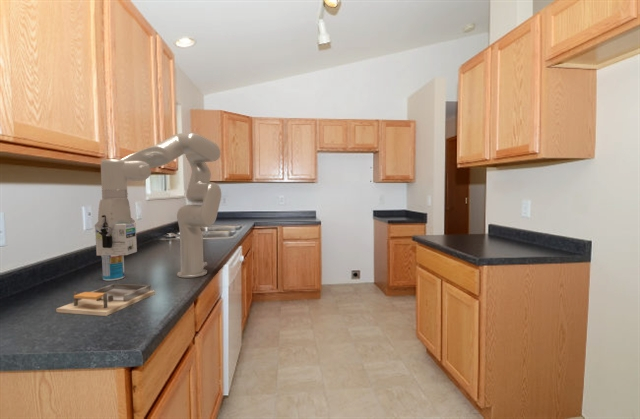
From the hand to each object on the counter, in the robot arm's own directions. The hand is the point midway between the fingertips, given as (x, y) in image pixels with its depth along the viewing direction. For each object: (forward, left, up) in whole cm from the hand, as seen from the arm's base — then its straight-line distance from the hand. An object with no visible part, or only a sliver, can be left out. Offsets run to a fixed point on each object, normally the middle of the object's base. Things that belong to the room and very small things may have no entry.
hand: (116, 245), depth 115 cm
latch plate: (+12, 0, -15) cm, 19 cm away
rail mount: (+3, 0, -19) cm, 19 cm away
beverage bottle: (-23, -23, -19) cm, 38 cm away
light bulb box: (0, 0, -3) cm, 3 cm away
